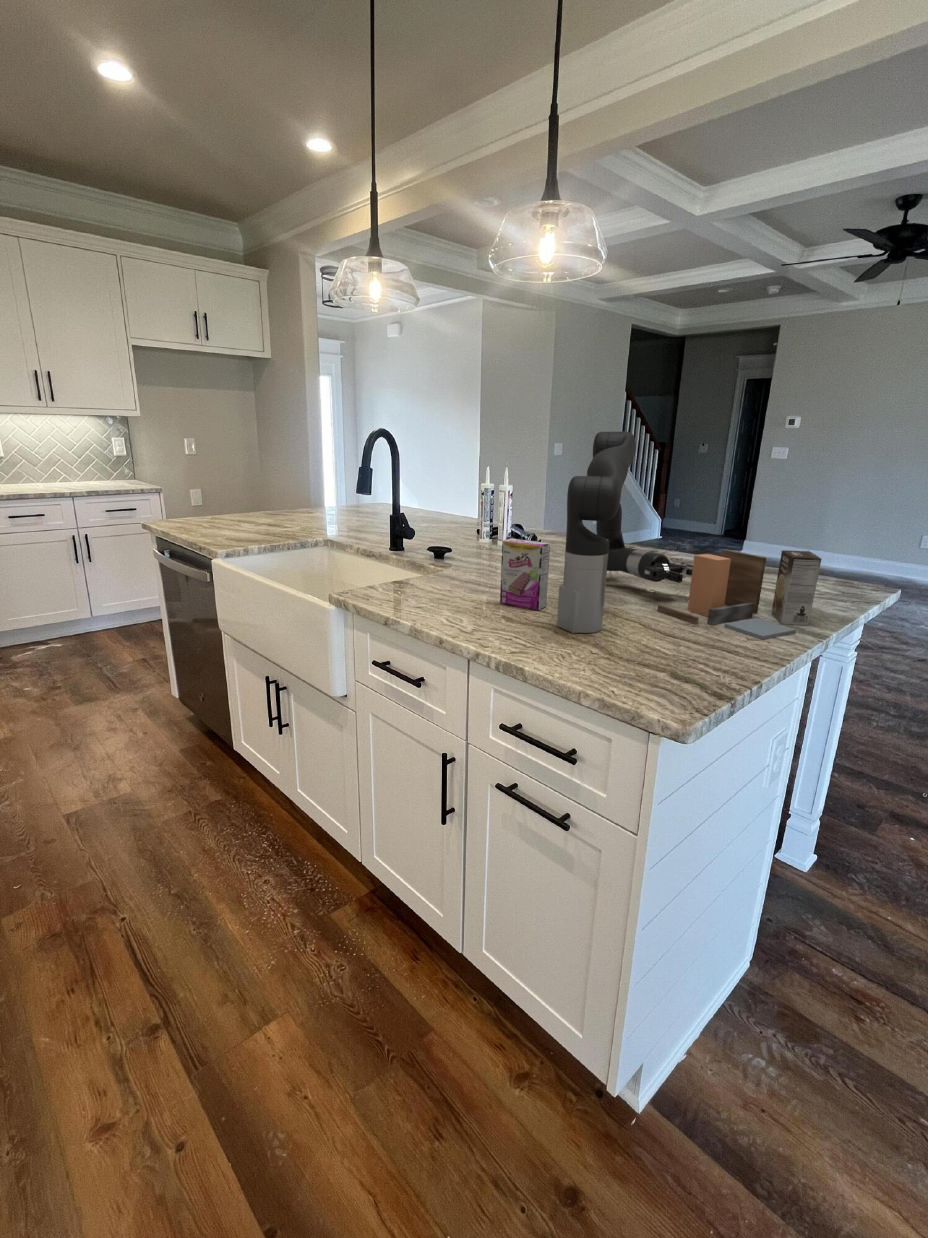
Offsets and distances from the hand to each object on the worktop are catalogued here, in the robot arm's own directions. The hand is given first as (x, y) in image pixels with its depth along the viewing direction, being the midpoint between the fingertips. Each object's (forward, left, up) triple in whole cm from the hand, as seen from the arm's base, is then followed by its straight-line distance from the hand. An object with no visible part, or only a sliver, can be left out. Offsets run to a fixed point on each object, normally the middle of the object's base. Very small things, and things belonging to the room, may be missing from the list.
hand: (694, 577), depth 152 cm
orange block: (0, -5, -8) cm, 9 cm away
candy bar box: (-38, +19, -8) cm, 43 cm away
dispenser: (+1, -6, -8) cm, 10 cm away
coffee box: (+14, -18, -8) cm, 24 cm away
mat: (0, -20, -8) cm, 22 cm away
